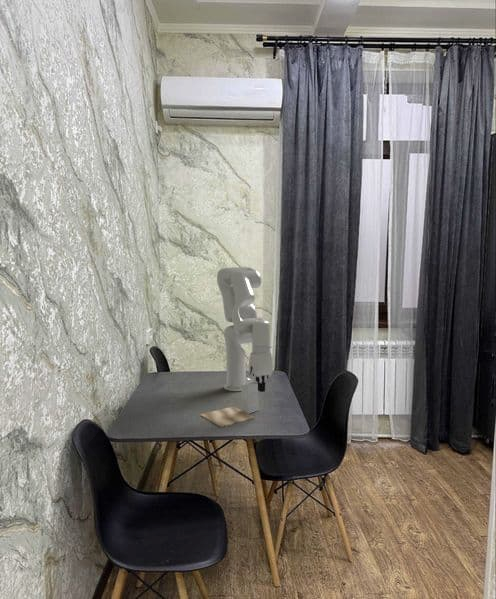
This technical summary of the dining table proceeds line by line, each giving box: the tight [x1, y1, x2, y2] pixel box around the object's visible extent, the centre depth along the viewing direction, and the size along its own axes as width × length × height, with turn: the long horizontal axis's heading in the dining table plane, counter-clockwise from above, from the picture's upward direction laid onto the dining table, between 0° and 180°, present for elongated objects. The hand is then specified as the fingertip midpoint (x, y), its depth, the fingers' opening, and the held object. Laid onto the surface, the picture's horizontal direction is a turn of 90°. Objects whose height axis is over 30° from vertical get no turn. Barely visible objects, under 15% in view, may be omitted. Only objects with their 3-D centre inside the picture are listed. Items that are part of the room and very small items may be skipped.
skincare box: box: [240, 381, 259, 415], centre depth 190 cm, size 6×4×12 cm
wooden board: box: [200, 406, 255, 428], centre depth 184 cm, size 16×16×1 cm
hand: (261, 390), depth 194 cm, fingers closed
